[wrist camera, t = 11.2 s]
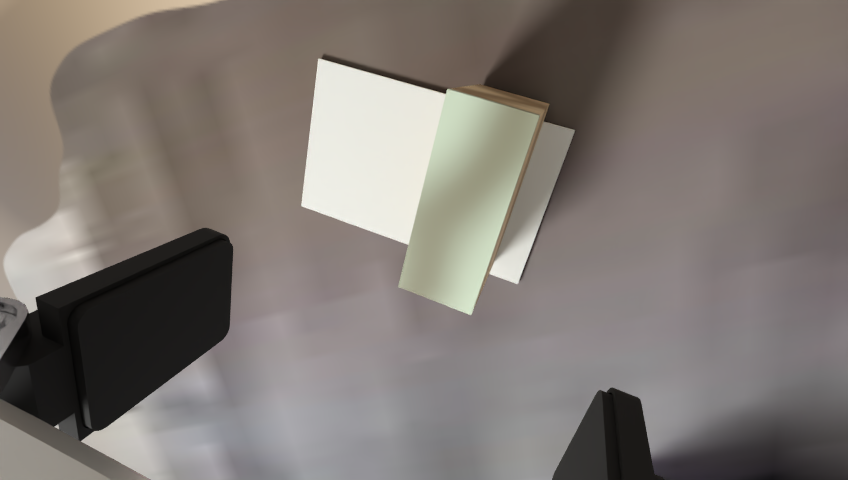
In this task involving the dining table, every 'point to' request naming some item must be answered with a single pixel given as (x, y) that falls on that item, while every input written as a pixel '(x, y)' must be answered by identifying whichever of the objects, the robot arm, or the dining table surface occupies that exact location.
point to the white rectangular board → (404, 160)
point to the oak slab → (469, 192)
